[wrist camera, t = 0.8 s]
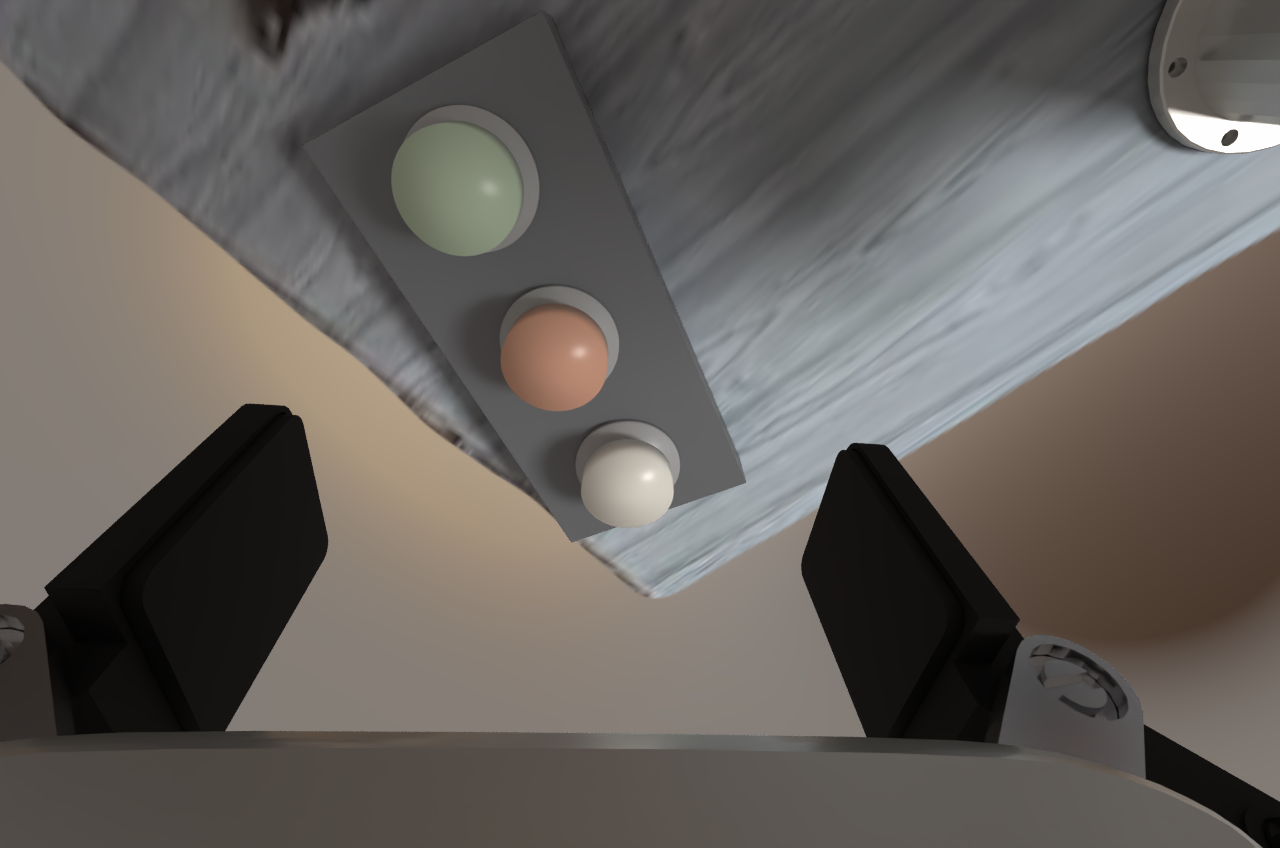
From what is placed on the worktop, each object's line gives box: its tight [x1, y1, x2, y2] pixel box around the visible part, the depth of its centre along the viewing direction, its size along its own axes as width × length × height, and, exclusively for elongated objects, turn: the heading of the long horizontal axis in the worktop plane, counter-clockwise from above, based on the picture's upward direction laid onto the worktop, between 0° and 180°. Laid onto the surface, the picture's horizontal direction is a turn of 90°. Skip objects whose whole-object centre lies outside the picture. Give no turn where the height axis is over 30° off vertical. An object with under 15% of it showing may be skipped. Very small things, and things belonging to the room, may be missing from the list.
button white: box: [581, 439, 674, 528], centre depth 38 cm, size 6×6×2 cm
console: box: [302, 11, 746, 542], centre depth 37 cm, size 14×30×4 cm, turn 24°
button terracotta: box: [500, 303, 608, 411], centre depth 33 cm, size 6×6×2 cm
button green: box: [391, 120, 524, 256], centre depth 29 cm, size 6×6×2 cm
